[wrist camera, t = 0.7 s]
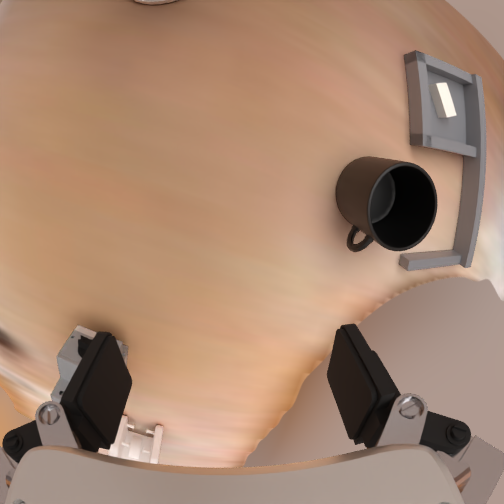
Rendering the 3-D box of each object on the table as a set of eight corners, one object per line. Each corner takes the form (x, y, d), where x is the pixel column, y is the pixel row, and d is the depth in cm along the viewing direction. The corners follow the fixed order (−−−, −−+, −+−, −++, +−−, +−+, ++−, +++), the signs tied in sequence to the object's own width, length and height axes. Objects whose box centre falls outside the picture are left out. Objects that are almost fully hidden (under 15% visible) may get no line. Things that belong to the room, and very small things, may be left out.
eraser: (427, 85, 26) (436, 83, 24) (438, 83, 26) (446, 82, 24) (438, 117, 28) (446, 117, 26) (447, 115, 28) (456, 115, 26)
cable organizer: (159, 447, 52) (153, 484, 42) (119, 435, 50) (110, 471, 40) (165, 421, 48) (158, 465, 37) (118, 407, 46) (105, 449, 35)
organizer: (403, 55, 25) (419, 48, 22) (465, 79, 26) (481, 77, 22) (398, 263, 37) (412, 275, 33) (456, 257, 37) (470, 267, 34)
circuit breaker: (131, 317, 37) (96, 391, 23) (126, 376, 42) (104, 442, 28) (88, 302, 36) (42, 366, 22) (89, 362, 40) (60, 423, 26)
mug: (308, 216, 33) (333, 240, 25) (361, 141, 30) (401, 142, 22) (359, 254, 36) (391, 285, 27) (407, 186, 32) (449, 200, 24)
